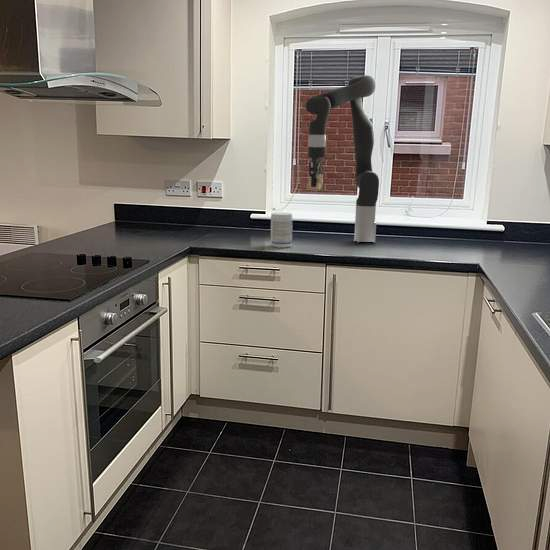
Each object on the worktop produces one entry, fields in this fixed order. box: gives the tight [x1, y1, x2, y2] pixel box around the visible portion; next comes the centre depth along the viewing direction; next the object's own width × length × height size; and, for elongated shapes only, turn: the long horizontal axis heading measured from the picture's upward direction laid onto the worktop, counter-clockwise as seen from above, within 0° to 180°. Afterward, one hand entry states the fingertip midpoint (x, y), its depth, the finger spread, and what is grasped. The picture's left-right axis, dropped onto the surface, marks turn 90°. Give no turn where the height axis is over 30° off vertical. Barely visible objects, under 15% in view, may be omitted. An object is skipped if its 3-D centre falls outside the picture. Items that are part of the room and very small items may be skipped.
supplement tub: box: [270, 212, 293, 249], centre depth 259 cm, size 10×10×15 cm
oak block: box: [307, 173, 324, 190], centre depth 250 cm, size 5×5×6 cm
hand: (315, 186), depth 251 cm, fingers closed on oak block, 5 cm apart
